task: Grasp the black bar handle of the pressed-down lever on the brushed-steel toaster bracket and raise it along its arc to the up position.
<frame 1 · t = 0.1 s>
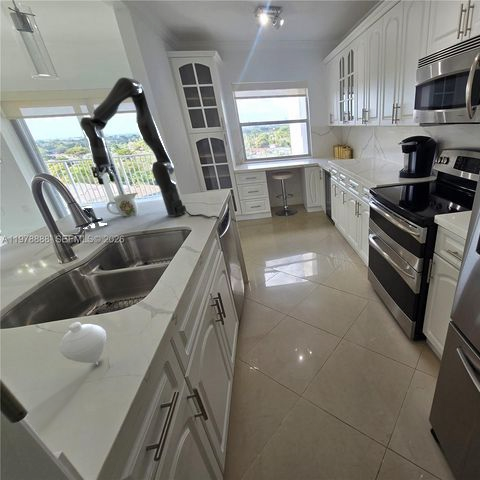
hand: (107, 182, 156), 22 cm above the worktop, tool pointing down, fingers open, 8 cm apart
pitcher: (129, 216, 166), on the worktop
spinning top: (97, 365, 60), on the worktop
lever: (91, 215, 145), point 8 cm above the worktop, hinge at -28.0°
toaster bracket: (93, 227, 150), on the worktop
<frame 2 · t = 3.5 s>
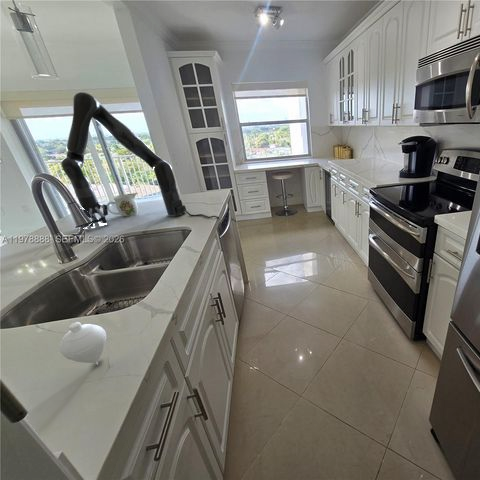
hand: (99, 224, 145), 3 cm above the worktop, tool pointing down, fingers closed on lever, 5 cm apart
lever: (91, 215, 145), point 8 cm above the worktop, hinge at -28.1°, touching gripper
everything else where it was.
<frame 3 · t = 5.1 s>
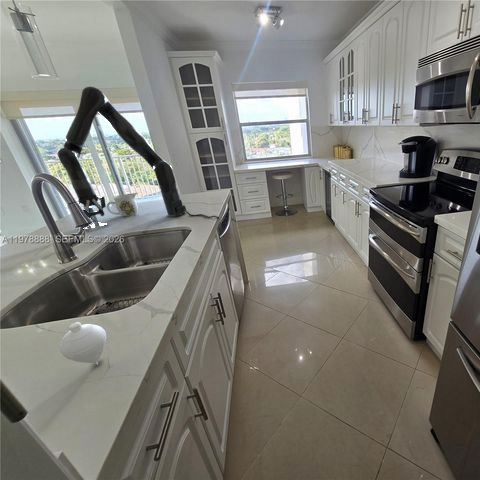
hand: (96, 217, 143), 7 cm above the worktop, tool pointing down, fingers closed on lever, 5 cm apart
lever: (90, 212, 144), point 10 cm above the worktop, hinge at -2.0°, touching gripper
everything else where it was.
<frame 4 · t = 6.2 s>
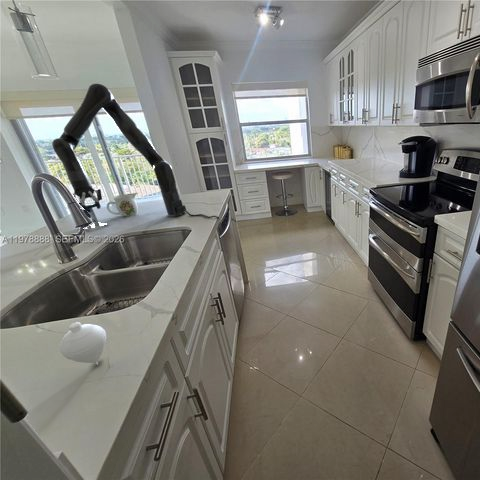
hand: (92, 209, 141), 12 cm above the worktop, tool pointing down, fingers closed on lever, 5 cm apart
lever: (88, 208, 143), point 12 cm above the worktop, hinge at 21.4°, touching gripper
everything else where it was.
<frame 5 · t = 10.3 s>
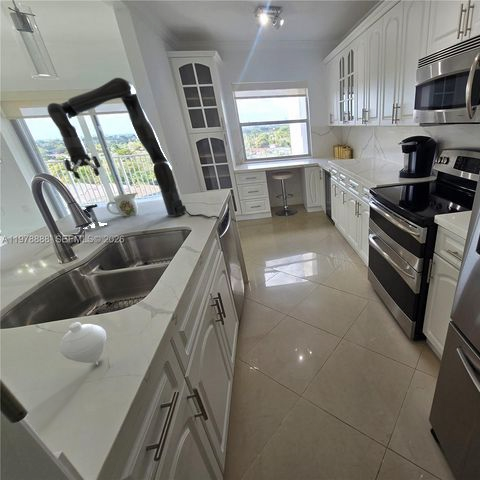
hand: (88, 177, 141), 28 cm above the worktop, tool pointing down, fingers open, 8 cm apart
lever: (88, 209, 143), point 12 cm above the worktop, hinge at 20.3°
everything else where it was.
at the end: lever at +20° (first picture: -28°) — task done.
